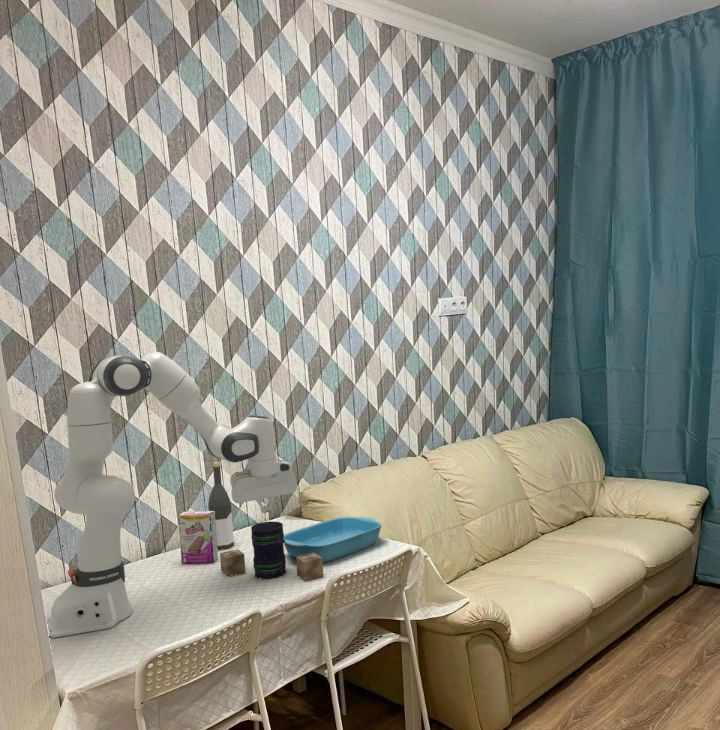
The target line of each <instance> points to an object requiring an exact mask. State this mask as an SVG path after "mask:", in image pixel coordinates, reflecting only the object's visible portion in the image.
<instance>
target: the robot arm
mask: <svg viewBox="0 0 720 730" xmlns="http://www.w3.org/2000/svg"><path fill="white" fill-rule="evenodd" d="M143 389H145V390H147V391H148V392H149V393H150V394H152V396H154V398H155V399H157V401H159V402H160V403H161V404H162V405H163V406H164V407H166V408H167V409H168V410H169V411H170V412H171V411H172V413H174V414H175V415H178V416H179V417H181V418H182V419H184V420H185V421H186V422H187V423H188V424H189V425H190V426H191V427H192V428H193V429H194V430H195V431H196V432H197V433H198V434H199V435H200V436H201V438H202V440H203V442H204V444H205V447H206V449H207V451H208V453H209V454H210V455H211V456H212V457H214V458H216V459H221V460H224V461H226V462H228V463H239V462H243V461H246V460H247V469H245V470H242V471H236V472H234V473H233V474H231V476H230V482H229V483H230V486H231V500H232V501H233V502H234V503H235V504H243V503H248V502H252V501H253V502H254V501H256V503H257V504H258V506H259V508H260V512H261V514H266V513H270V512H272V509H273V508H272V506H273V504H274V501H275V497H278V496H279V497H280V496H285V495H290V494H294V493H296V491H297V489H298V485H297V478H296V475H295V472H294V471H292V470H293V464H292V463H290V462H288V461H285V460H280V459H277V453H276V450H275V447H276V437H275V429H274V424H273V421H272V419H271V418H269V417H267V416H265V415H259V414H258V415H256V414H253V415H247V416H246V418H244V420H243V421H242V422H240V423H239V424H237V425H236V426H234V427H230V426H226V425H223V424H221V423H219V422H218V421H217V420H216V419H214V417H213V416H212V415H211V414H210V413H209V412H208V411H207V410H206V409H205V408H204V407H203V405H202V404H201V402H200V397H201V389H200V387H199V386H198V385H197V383H196V382H195V380H194V379H193V378H192V376H190V375H189V374H188V373H187V371H185V370H184V369H183V367H181V366H180V365H179V364H178V363H176V362H175V361H174V360H173V359H172V358H170V357H168V355H165V354H164V353H162V352H160V351H152V352H150V353H148V354H146V355H144V356H143V357H142V358H141V359H138V358H135V357H131V356H127V355H126V356H125V355H122V354H117V355H112V356H106V357H104V358H102V359H101V360H99V361H98V362H97V364H95V367H94V368H93V370H92V372H91V374H90V377H89V378H88V380H87V381H85V382H80V383H78V384H76V385H74V386H72V388H71V389H70V391H69V393H68V399H67V401H68V402H67V410H66V411H67V412H66V415H67V416H66V417H67V418H66V419H67V437H68V440H67V441H68V443H67V444H68V458H67V463H66V467H65V470H64V473H63V476H62V477H61V479H60V480H58V482H57V483H56V485H55V488H54V500H55V502H56V504H57V506H59V508H61V509H64V510H65V511H68V512H70V513H72V514H79V515H85V524H84V530H83V532H82V533H81V534H80V535H79V536H78V537H77V540H76V544H75V545H76V553H77V556H76V557H77V568H76V569H75V568H74V567H71V568H68V570H67V575H68V577H70V581H71V584H70V585H69V586H68V587H67V588H66V589H65V590H63V592H62V593H61V594H60V595H58V596H57V597H56V598H55V599H54V600H53V603H52V607H51V612H50V616H48V617H46V619H47V624H48V630H49V635H50V637H49V638H60V637H65V636H66V637H67V636H72V635H78V634H82V633H88V632H94V631H100V630H106V629H111V628H113V627H115V626H117V624H118V623H119V622H121V621H123V620H125V619H127V618H128V617H129V616H130V615H131V614H132V613H133V609H132V605H131V603H130V601H129V600H130V599H129V598H128V594H127V589H126V585H125V582H126V569H125V565H124V564H125V563H124V561H123V560H122V548H121V546H122V545H121V530H122V526H123V525H122V524H123V522H124V519H125V516H126V515H127V513H128V512H130V511H131V509H132V508H133V506H134V503H135V500H136V494H135V488H134V486H133V485H132V484H131V482H129V481H128V480H126V479H123V478H121V477H119V476H116V475H109V474H107V475H106V474H104V473H103V471H104V470H103V469H104V464H105V461H106V459H107V457H109V456H110V455H111V454H112V452H113V449H114V443H113V428H112V425H113V424H112V416H111V415H112V414H111V409H112V404H113V401H114V400H115V398H116V397H128V396H132V395H135V394H136V393H138V392H139V391H141V390H143ZM264 499H267V500H268V503H267V505H263V503H264Z"/></svg>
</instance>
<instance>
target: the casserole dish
mask: <svg viewBox="0 0 720 730" xmlns="http://www.w3.org/2000/svg"><path fill="white" fill-rule="evenodd" d="M381 528H382V523H381V522H379V521H377V520H376V519H375V518H371V517H365V516H340V517H335V518H332V519H329V520H328V519H327V520H324V521H322V522H319V523H315V524H311V525H308V526H305V527H302V528H298V529H296V530H293V531H290V532H288V533H284V543H283V546H284V549H285V550H286V552H287V553H288V554H289V555H290V556H291V557H293V558H294V559H296V557H297V556H301V555H306V554H310V553H315V554H317V555H319V556H320V557H322V562H323V563H327V562H331V561H333V560H336V559H341V558H342V557H344V556H347V555H350V554H353V553H356V552H359V551H361V550H364V549H366V548H369V547H371V546H372V545H374V544H375V543H376V542H377V540H378V538H379V535H380V532H381Z"/></svg>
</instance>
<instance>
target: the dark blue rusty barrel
mask: <svg viewBox="0 0 720 730" xmlns="http://www.w3.org/2000/svg"><path fill="white" fill-rule="evenodd" d="M283 528H284V524H283V523H282V522H280V521H263V522H259V523H258V522H257V523H255V524H253V525H252V526H251V527H250V530H251V544H252V548H253V560H252V561H253V569H254V570H253V571H254V577H255V578H256V577H257V578H256V579H258V578H261V579H260V580H274V579H273V578H275V579H278V577H279V578H281V577H284V576H285V575H286V574H287V569H286V568H287V567H286V566H287V565H286V564H287V561H286V554H285V545H284V535H285V533H284V529H283ZM285 573H286V574H285ZM284 574H285V575H284Z"/></svg>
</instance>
